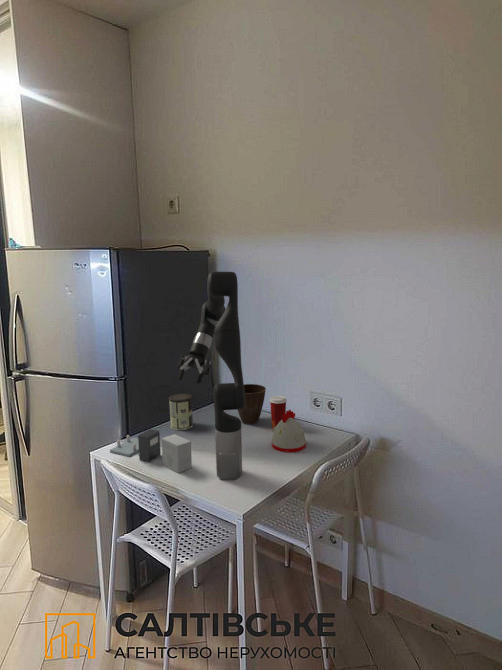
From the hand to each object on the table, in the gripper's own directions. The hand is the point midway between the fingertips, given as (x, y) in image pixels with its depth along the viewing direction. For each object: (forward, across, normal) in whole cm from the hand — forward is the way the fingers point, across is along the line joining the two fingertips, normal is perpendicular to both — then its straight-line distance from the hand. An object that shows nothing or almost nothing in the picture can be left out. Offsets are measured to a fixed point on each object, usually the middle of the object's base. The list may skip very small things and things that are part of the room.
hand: (188, 381), depth 192 cm
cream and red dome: (+12, +41, +23) cm, 49 cm away
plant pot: (+3, +16, +39) cm, 42 cm away
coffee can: (+15, -11, +26) cm, 32 cm away
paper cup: (+3, +30, +36) cm, 48 cm away
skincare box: (+34, +10, -3) cm, 35 cm away
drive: (+33, -4, -1) cm, 33 cm away
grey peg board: (+31, -17, +3) cm, 36 cm away
